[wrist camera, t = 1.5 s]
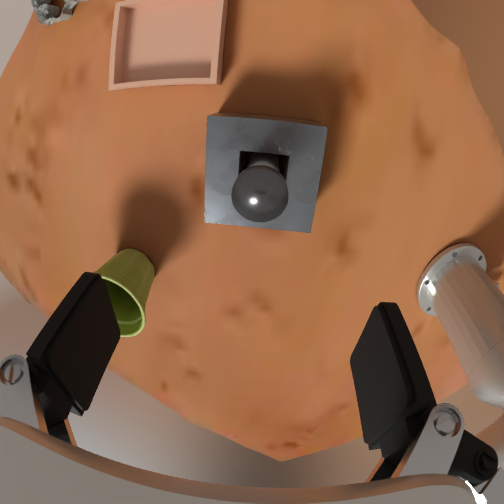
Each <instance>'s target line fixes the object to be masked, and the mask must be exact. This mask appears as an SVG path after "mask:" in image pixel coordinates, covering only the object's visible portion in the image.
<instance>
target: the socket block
mask: <svg viewBox="0 0 504 504" xmlns="http://www.w3.org/2000/svg"><path fill="white" fill-rule="evenodd" d="M327 130H328V127H326V126H325V125H323V124H321V123H320V122H316V121H310V120H302V119H295V118H287V117H278V116H268V115H257V114H244V113H226V112H217V113H214V114H212V115H209V116H207V138H206V170H205V223H216V224H227V225H237V226H248V227H258V228H268V229H277V230H287V231H296V232H305V233H310V232H311V227H312V222H313V216H314V211H315V205H316V200H317V194H318V188H319V182H320V176H321V170H322V164H323V157H324V151H325V144H326V137H327ZM244 151H250V152H261V153H271V154H281V155H286V157H285V165H284V174H283V177H284V179H285V180H286V183H287V187H288V195H289V198H288V204H287V206H286V208H285V210H284V211H283V213H282V214H281V215H280V216H278V217H277V218H275V219H274V220H271V221H268V222H253V221H250V220H247V219H245V218H244V217H242V216H241V215H240V214H239V213H238V212H237V211H236V209H235V208H234V205H233V203H232V198H231V193H232V188H233V185H234V183H235V181H236V178H237V177H238V175H239V174H240V173H241V172H242V171H243V164H244Z"/></svg>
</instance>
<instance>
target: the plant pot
mask: <svg viewBox="0 0 504 504" xmlns="http://www.w3.org/2000/svg"><path fill="white" fill-rule="evenodd" d="M93 273H97V274H100V275H101V276H102V279H104V280H105V282H106V285H107V289H108V292H109V296H110V299H111V303H112V306H113V309H114V313H115V316H116V319H117V322H118V325H119V328H120V337H131V336H135V335H137V334H138V333H140V332H141V331H142V329H143V328H144V325H145V305H146V301H147V298H148V295H149V291H150V288H151V285H152V282H153V279H154V276H155V270H154V266H153V264H152V263H151V262H150V261H149V260H148V258H147V257H146V255H145V254H143V253H142V252H140V251H138V250H135V249H124V250H122V251H120V252H118V253H117V254H116V255H115V256H114V257H112V258H111V259H110V260H109V261H108V262H107V263H105V264H104V265H103V266H102V267H101V268H100V269H98V270H97V271H95V272H93Z"/></svg>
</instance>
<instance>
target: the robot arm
mask: <svg viewBox="0 0 504 504" xmlns="http://www.w3.org/2000/svg"><path fill="white" fill-rule="evenodd" d="M486 267H487V265H486V259H485V256H484V254H483V253H482V252H481V250H480V249H479V248H478V247H477V246H475V245H473V244H469V243H460V244H456V245H453V246H451V247H449V248H447V249H445V250H444V251H442V252H441V253H439V254H438V255H437V256H436V257H435V258H434V259H433V260H432V261H431V262H430V263H429V265H428V266H427V267H426V269H425V270H424V272H423V274H422V276H421V278H420V280H419V283H418V286H417V300H418V302H419V305H420V306H421V308H422V310H423V311H424V312H425V313H427V314H429V315H432V316H437V317H438V318H439V320H440V322H441V324H442V326H443V328H444V330H445V332H446V334H447V336H448V338H449V340H450V342H451V344H452V346H453V348H454V350H455V353H456V355H457V357H458V359H459V361H460V363H461V366H462V368H463V370H464V373H465V375H466V377H467V380H468V382H469V384H470V387H471V389H472V391H473V393H474V394H475V396H476V397H477V398H478V399H479V400H480V401H482V402H484V403H486V404H489V405H493V406H498V407H501V408H502V409H503V410H504V294H503V293H502V292H501V291H500V289H499V283H498V282H493V280H492V279H491V278H490V277H489V275H488V274H487V273H486ZM119 339H120V328H119V325H118V322H117V319H116V316H115V313H114V309H113V306H112V303H111V299H110V296H109V292H108V289H107V285H106V282H105V280H104V279H102V276H101V275H100V274H97V273H90V272H85V273H83V274H82V276H81V277H80V278H79V279H78V281H77V282H76V283H75V285H74V286H73V287H72V288H71V290H70V291H69V292H68V294H67V295H66V296H65V298H64V299H63V300H62V302H61V303H60V304H59V306H58V307H57V309H56V310H55V311H54V313H53V314H52V316H51V317H50V318H49V320H48V322H47V323H46V324H45V326H44V328H43V329H42V330H41V332H40V333H39V335H38V336H37V338H36V339H35V341H34V342H33V344H32V345H31V347H30V348H29V350H28V352H27V353H26V354H27V356H28V357H27V359H26V360H25V358H24V357H22V356H21V355H16V354H15V355H10V356H8V357H6V358H4V359H3V360H2V361H1V362H0V504H504V413H503V414H502V416H501V417H499V419H497V420H496V421H495V422H494V423H493V424H491V425H490V426H488V427H487V428H486V429H484V430H483V431H481V432H480V433H478V434H477V435H475V436H474V435H472V434H471V433H469V432H467V431H466V430H464V425H465V424H464V418H463V416H462V414H461V412H460V411H459V409H458V408H456V407H455V406H454V405H452V404H449V403H442V404H438V405H437V404H436V400H435V397H434V394H433V392H432V389H431V386H430V383H429V380H428V377H427V375H426V372H425V369H424V366H423V364H422V361H421V359H420V356H419V353H418V351H417V348H416V346H415V344H414V341H413V339H412V336H411V334H410V332H409V329H408V327H407V325H406V322H405V320H404V318H403V316H402V313H401V311H400V309H399V307H398V305H397V304H396V303H391V302H380V303H379V304H378V306H375V307H374V308H373V310H372V312H371V315H370V317H369V319H368V321H367V323H366V326H365V328H364V330H363V332H362V334H361V336H360V338H359V340H358V343H357V345H356V347H355V349H354V351H353V353H352V355H351V359H350V364H351V370H352V375H353V380H354V385H355V390H356V396H357V401H358V407H359V413H360V419H361V425H362V431H363V438H364V442H365V443H366V444H368V445H369V450H373V449H381V452H382V458H381V459H380V461H379V462H378V464H377V465H376V467H375V468H374V470H373V471H372V473H371V474H370V476H369V477H368V479H367V480H366V482H365V483H357V484H349V485H339V486H328V487H312V488H258V487H257V488H256V487H242V486H231V485H221V484H213V483H206V482H200V481H194V480H187V479H182V478H178V477H173V476H168V475H163V474H159V473H155V472H151V471H147V470H143V469H140V468H136V467H132V466H129V465H126V464H123V463H120V462H117V461H114V460H110V459H108V458H105V457H102V456H99V455H97V454H94V453H91V452H89V451H86V450H84V449H81V448H79V447H77V444H76V441H75V439H74V436H73V433H72V430H71V427H70V424H69V421H68V415H69V413H70V412H72V413H74V414H77V415H79V416H82V415H83V413H84V411H86V410H88V408H89V406H90V404H91V402H92V399H93V397H94V395H95V392H96V390H97V388H98V385H99V383H100V381H101V378H102V376H103V374H104V371H105V369H106V367H107V365H108V363H109V361H110V358H111V356H112V354H113V352H114V350H115V348H116V346H117V344H118V342H119Z"/></svg>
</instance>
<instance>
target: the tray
mask: <svg viewBox="0 0 504 504" xmlns="http://www.w3.org/2000/svg"><path fill="white" fill-rule="evenodd" d="M228 1H229V0H126V1H121V2H117V3H116V6H115V13H114V21H113V29H112V39H111V51H110V67H109V90H121V89H129V88H139V87H151V86H167V85H221V78H222V65H223V52H224V41H225V30H226V20H227V10H228Z"/></svg>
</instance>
